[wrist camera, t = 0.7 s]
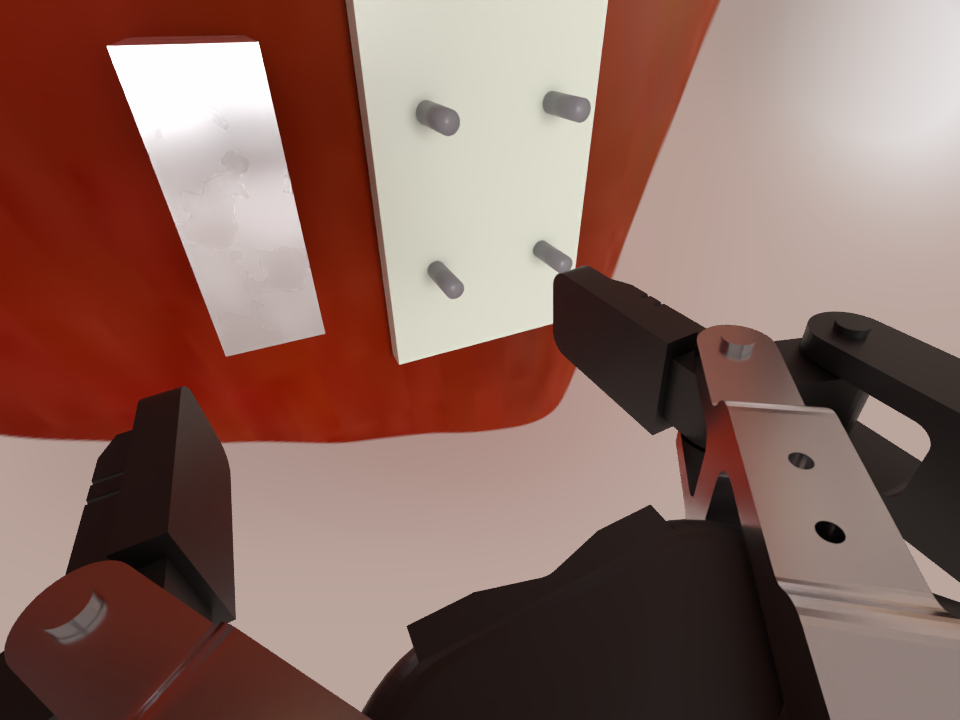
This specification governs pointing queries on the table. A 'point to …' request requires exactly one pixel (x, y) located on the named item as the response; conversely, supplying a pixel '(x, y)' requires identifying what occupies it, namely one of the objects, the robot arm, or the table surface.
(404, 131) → the peg board
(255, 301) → the plate
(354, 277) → the table surface
